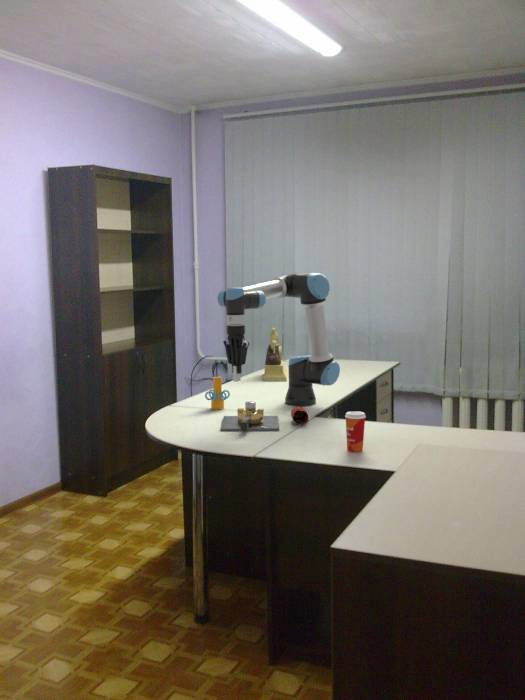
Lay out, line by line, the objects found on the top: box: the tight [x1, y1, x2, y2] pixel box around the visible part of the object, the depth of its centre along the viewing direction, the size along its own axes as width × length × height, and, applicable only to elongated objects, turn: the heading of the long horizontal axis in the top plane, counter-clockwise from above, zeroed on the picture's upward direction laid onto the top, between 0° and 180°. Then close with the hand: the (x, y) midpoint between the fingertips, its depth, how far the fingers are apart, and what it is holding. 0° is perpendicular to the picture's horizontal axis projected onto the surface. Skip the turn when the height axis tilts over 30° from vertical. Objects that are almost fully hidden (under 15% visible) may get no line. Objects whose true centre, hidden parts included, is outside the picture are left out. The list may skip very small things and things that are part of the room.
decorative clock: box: [263, 327, 288, 382], centre depth 426 cm, size 28×13×30 cm, turn 178°
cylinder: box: [204, 376, 231, 411], centre depth 338 cm, size 12×10×15 cm
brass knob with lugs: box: [236, 407, 265, 432], centre depth 299 cm, size 24×11×5 cm, turn 172°
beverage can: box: [290, 405, 310, 427], centre depth 308 cm, size 7×12×7 cm, turn 3°
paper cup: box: [344, 410, 367, 453], centre depth 262 cm, size 8×8×14 cm
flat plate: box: [220, 400, 280, 432], centre depth 305 cm, size 24×25×10 cm
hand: (237, 380), depth 299 cm, fingers closed
